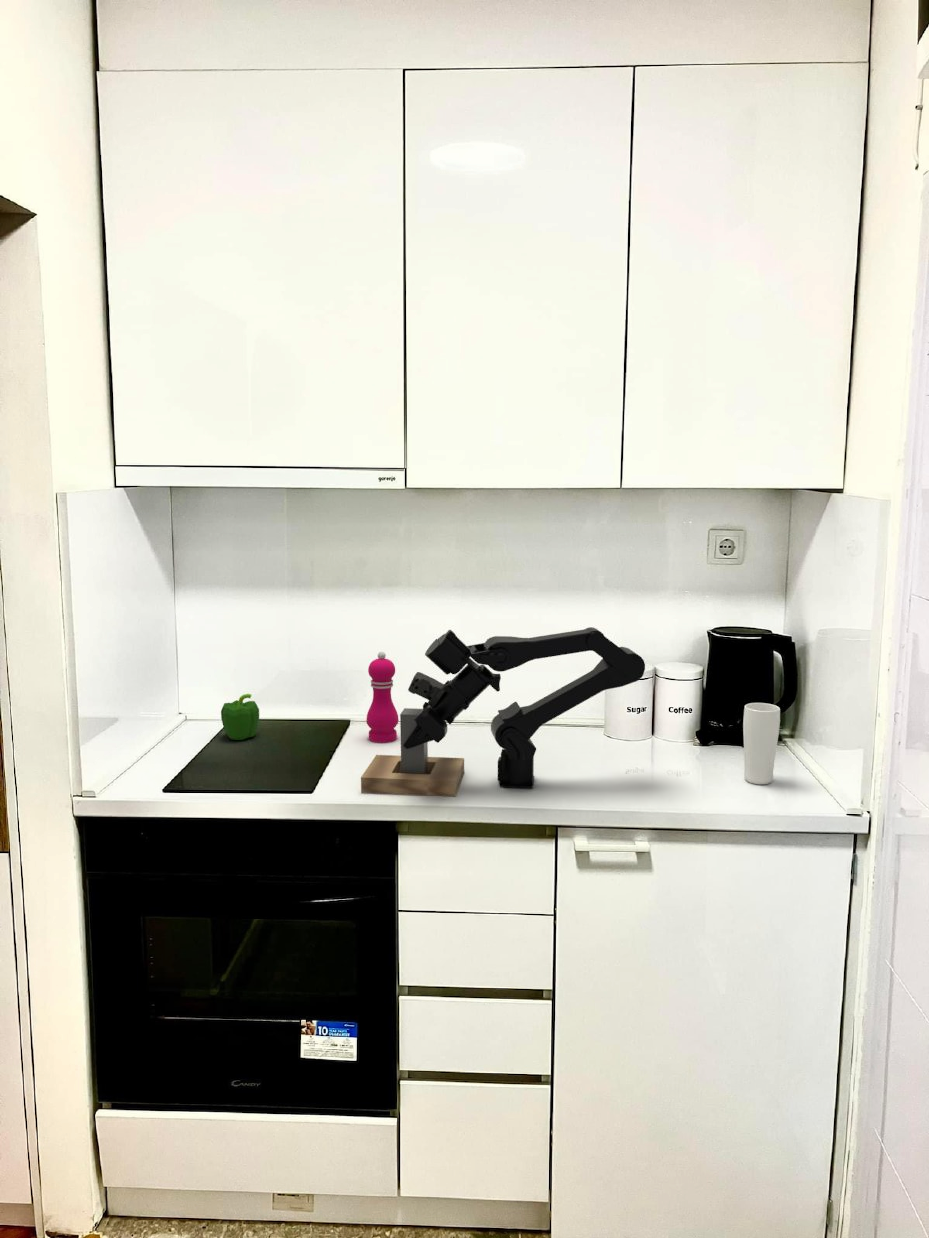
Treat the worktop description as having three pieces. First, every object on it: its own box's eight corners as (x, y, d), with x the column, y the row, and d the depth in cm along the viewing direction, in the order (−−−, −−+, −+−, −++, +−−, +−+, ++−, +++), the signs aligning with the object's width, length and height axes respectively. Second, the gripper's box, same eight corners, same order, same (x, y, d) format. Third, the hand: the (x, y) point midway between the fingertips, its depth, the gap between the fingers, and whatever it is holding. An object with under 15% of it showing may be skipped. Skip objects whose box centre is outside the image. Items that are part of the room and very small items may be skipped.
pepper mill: (397, 743, 214) (396, 655, 211) (364, 743, 214) (363, 655, 211) (399, 734, 221) (399, 648, 218) (368, 734, 221) (367, 648, 218)
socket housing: (464, 772, 195) (464, 758, 194) (455, 796, 181) (455, 781, 181) (376, 768, 197) (376, 754, 196) (361, 792, 183) (360, 777, 183)
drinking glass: (761, 773, 194) (765, 701, 192) (783, 784, 188) (788, 709, 186) (733, 777, 192) (736, 704, 189) (754, 788, 186) (758, 712, 183)
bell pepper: (216, 742, 215) (214, 698, 213) (230, 731, 223) (228, 689, 222) (252, 743, 214) (250, 699, 212) (265, 733, 222) (263, 690, 220)
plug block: (427, 772, 191) (427, 708, 189) (424, 780, 186) (423, 714, 184) (405, 771, 191) (404, 708, 189) (401, 779, 187) (400, 714, 185)
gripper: (440, 650, 194) (387, 702, 197) (425, 670, 175) (367, 727, 178) (479, 689, 194) (425, 740, 197) (469, 713, 176) (410, 770, 179)
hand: (407, 743), depth 188 cm, fingers closed on plug block, 4 cm apart
